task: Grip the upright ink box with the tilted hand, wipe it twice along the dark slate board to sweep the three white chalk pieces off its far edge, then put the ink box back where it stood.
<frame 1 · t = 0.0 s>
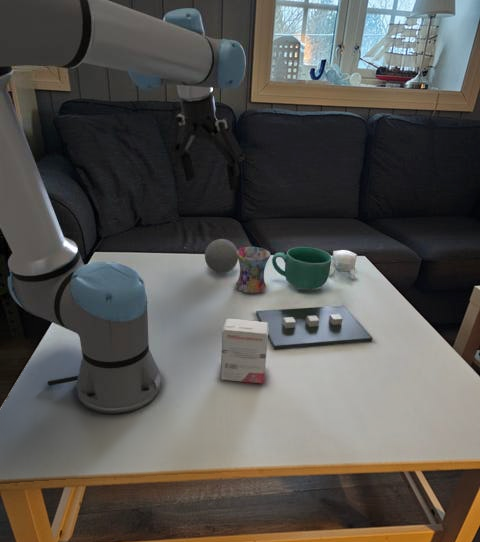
hand: (211, 183, 110), 28 cm above the table, tool tilted 20°, fingers open, 13 cm apart
chalk flake 2: (312, 323, 105), point 1 cm above the table, touching slate board
ink box: (242, 375, 87), on the table
decorative ball: (221, 272, 131), on the table
mug 2: (298, 284, 126), on the table
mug: (252, 286, 123), on the table
slate board: (311, 327, 105), on the table
chalk flake 3: (335, 322, 106), point 1 cm above the table, touching slate board
white figurine: (341, 275, 134), on the table
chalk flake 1: (288, 325, 103), point 1 cm above the table, touching slate board
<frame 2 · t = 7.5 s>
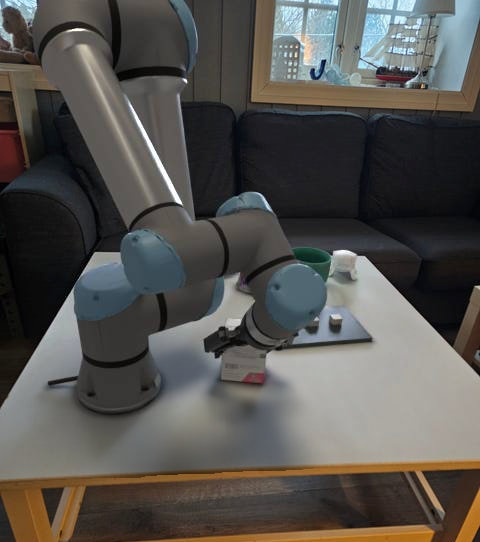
hand: (240, 349, 88), 4 cm above the table, tool tilted 45°, fingers closed on ink box, 9 cm apart
ink box: (242, 375, 87), on the table, touching gripper
everything else where it was.
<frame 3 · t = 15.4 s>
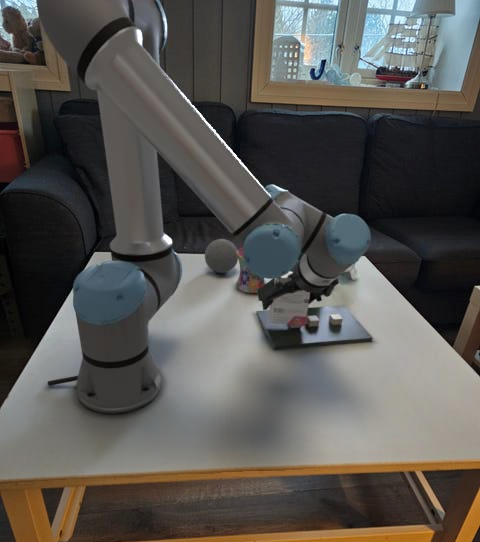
hand: (284, 303, 103), 5 cm above the table, tool tilted 45°, fingers closed on ink box, 9 cm apart
ink box: (286, 321, 102), point 2 cm above the table, touching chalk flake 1, gripper
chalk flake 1: (294, 325, 104), point 1 cm above the table, touching ink box, slate board
everything else where it was.
when the fingers open (3 cm above the table, at t = 52.1 s): ink box stays where it is, on the table.
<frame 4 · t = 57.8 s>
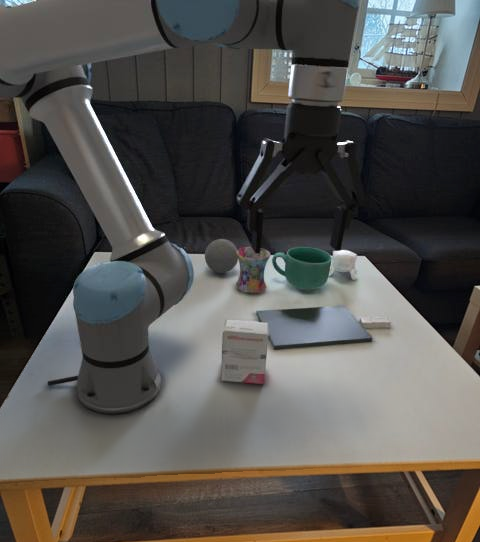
hand: (296, 249, 70), 29 cm above the table, tool pointing down, fingers open, 13 cm apart
chalk flake 2: (374, 325, 108), on the table
ink box: (243, 376, 87), on the table
chalk flake 3: (383, 325, 108), on the table
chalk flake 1: (364, 325, 107), on the table
everything else where it was.
at the end: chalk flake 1 touching table; chalk flake 2 touching table; chalk flake 3 touching table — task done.
